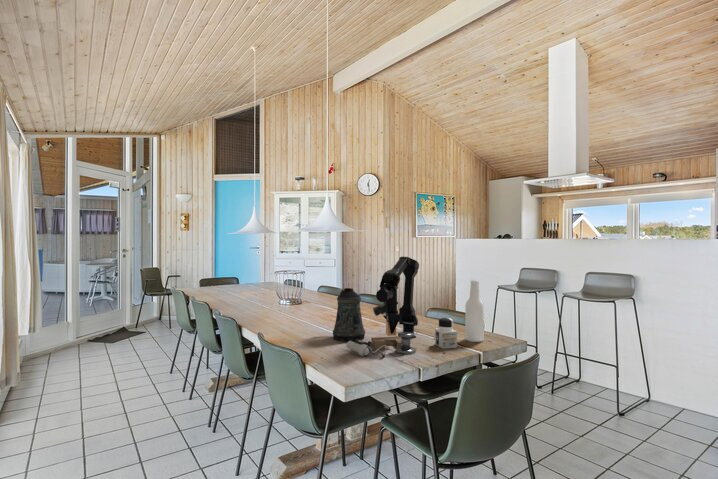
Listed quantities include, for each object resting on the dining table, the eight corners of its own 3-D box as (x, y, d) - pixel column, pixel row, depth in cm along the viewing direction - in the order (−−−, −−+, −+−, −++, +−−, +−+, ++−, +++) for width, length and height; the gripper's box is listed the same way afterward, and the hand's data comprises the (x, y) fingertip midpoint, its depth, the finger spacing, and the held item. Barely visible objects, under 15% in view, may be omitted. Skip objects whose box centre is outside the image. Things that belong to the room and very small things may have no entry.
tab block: (385, 333, 188) (386, 320, 188) (394, 333, 188) (394, 320, 188) (387, 335, 184) (387, 322, 184) (396, 335, 184) (396, 322, 184)
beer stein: (351, 344, 190) (351, 291, 190) (321, 338, 202) (321, 288, 202) (371, 337, 204) (371, 288, 204) (342, 332, 215) (342, 285, 215)
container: (442, 348, 183) (442, 320, 183) (434, 344, 190) (434, 317, 190) (457, 347, 185) (457, 319, 185) (449, 343, 192) (449, 316, 192)
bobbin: (393, 349, 182) (393, 331, 182) (413, 348, 183) (413, 331, 183) (398, 354, 173) (398, 336, 173) (418, 353, 174) (418, 335, 174)
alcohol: (487, 341, 196) (487, 280, 196) (471, 343, 193) (472, 281, 193) (476, 337, 204) (477, 279, 204) (461, 338, 201) (462, 279, 201)
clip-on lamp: (389, 360, 175) (355, 346, 183) (393, 346, 175) (358, 333, 183) (379, 365, 164) (342, 350, 173) (382, 350, 164) (346, 335, 172)
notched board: (371, 342, 193) (371, 337, 193) (403, 341, 195) (403, 336, 195) (374, 348, 182) (374, 343, 182) (409, 347, 184) (409, 342, 184)
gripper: (371, 296, 194) (371, 328, 194) (377, 302, 176) (377, 337, 176) (393, 296, 196) (393, 327, 196) (402, 302, 177) (401, 337, 177)
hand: (391, 332), depth 186 cm, fingers closed on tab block, 4 cm apart
